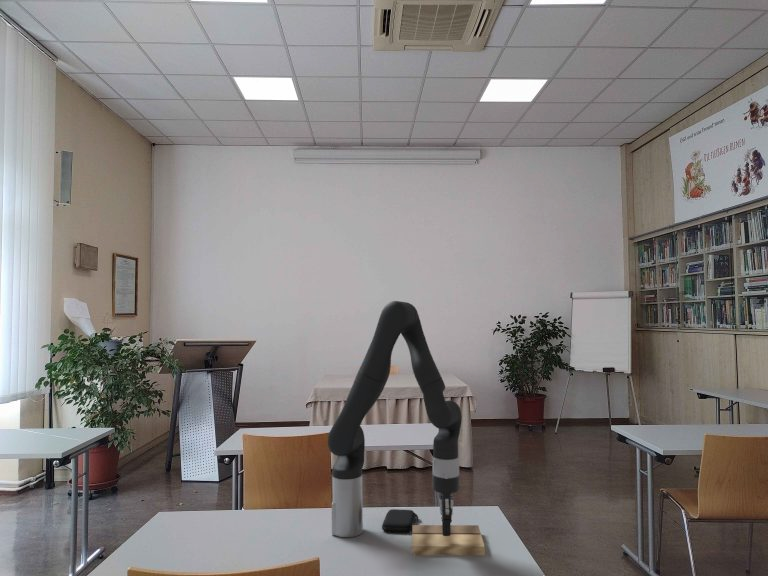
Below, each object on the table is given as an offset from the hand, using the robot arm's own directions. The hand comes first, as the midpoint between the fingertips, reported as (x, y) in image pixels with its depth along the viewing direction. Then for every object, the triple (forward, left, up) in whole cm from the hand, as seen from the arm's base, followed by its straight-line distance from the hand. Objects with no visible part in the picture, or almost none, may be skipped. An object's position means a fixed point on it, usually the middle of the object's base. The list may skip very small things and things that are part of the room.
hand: (446, 535), depth 152 cm
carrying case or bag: (-13, +19, -5) cm, 24 cm away
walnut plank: (0, +9, -5) cm, 11 cm away
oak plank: (0, +2, -4) cm, 5 cm away
